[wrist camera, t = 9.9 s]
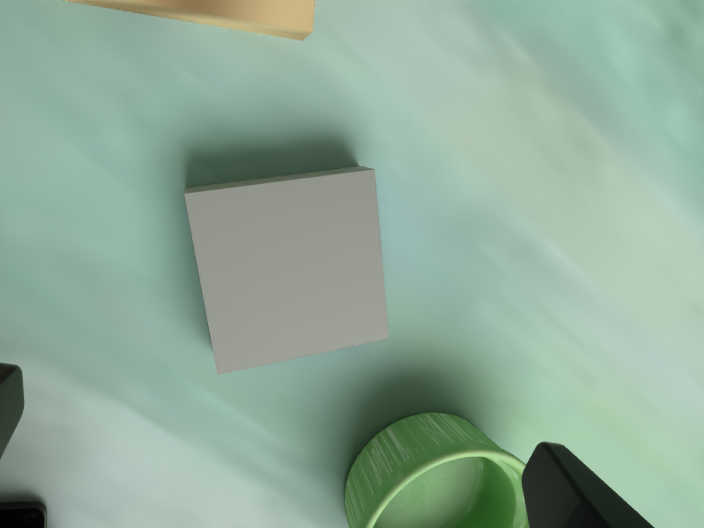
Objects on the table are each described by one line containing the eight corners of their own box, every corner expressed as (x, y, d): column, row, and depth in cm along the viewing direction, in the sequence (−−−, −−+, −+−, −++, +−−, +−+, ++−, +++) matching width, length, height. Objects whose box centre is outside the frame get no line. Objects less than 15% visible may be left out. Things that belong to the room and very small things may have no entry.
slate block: (215, 349, 22) (217, 374, 20) (185, 186, 21) (183, 193, 18) (370, 318, 24) (388, 338, 22) (356, 165, 22) (374, 169, 20)
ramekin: (486, 539, 29) (533, 607, 25) (328, 567, 27) (352, 648, 22) (506, 392, 27) (561, 439, 23) (336, 408, 24) (364, 464, 20)
